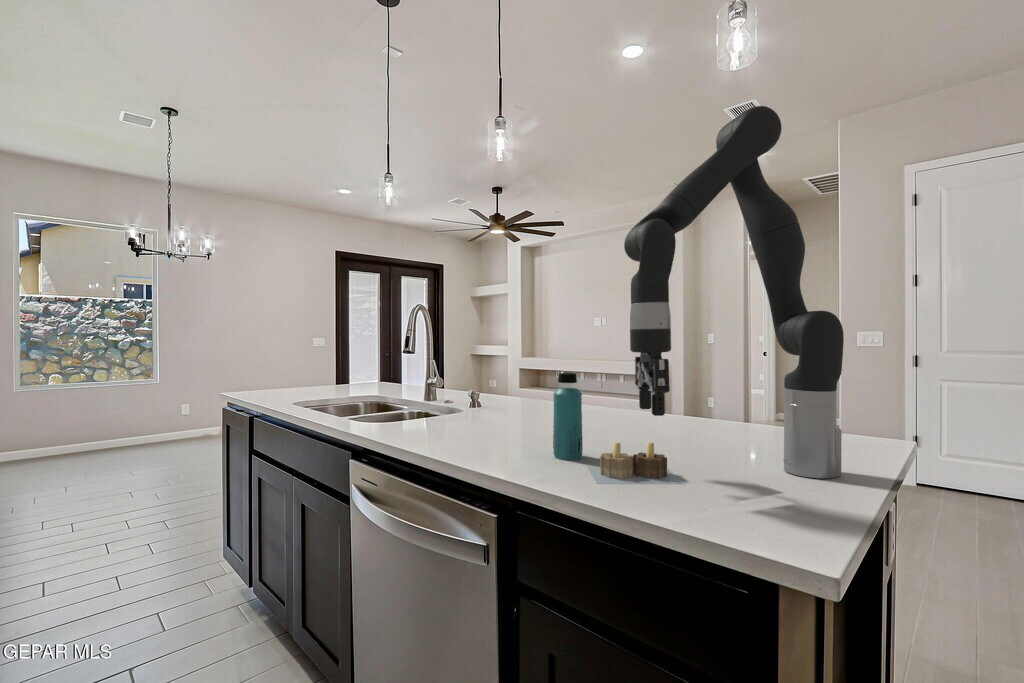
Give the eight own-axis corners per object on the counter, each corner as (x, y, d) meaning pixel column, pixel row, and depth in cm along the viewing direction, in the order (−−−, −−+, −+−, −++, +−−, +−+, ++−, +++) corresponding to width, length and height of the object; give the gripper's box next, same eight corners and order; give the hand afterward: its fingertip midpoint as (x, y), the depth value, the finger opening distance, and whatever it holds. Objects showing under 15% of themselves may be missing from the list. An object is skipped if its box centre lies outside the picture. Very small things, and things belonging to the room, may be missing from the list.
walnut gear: (660, 470, 96) (661, 452, 96) (670, 479, 90) (670, 460, 90) (630, 470, 96) (630, 452, 96) (638, 478, 90) (638, 459, 90)
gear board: (665, 473, 99) (665, 437, 99) (686, 492, 87) (686, 450, 87) (586, 473, 99) (586, 436, 99) (596, 491, 87) (597, 450, 87)
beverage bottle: (581, 468, 103) (582, 374, 103) (550, 466, 105) (551, 373, 104) (583, 460, 110) (583, 372, 110) (554, 459, 111) (554, 371, 111)
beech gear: (620, 468, 97) (620, 451, 97) (639, 476, 91) (639, 458, 91) (594, 471, 95) (594, 453, 95) (612, 480, 89) (612, 461, 89)
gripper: (682, 326, 86) (684, 417, 86) (658, 327, 100) (659, 406, 100) (640, 326, 86) (641, 418, 86) (622, 328, 100) (623, 407, 100)
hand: (651, 412), depth 93 cm, fingers open, 8 cm apart
